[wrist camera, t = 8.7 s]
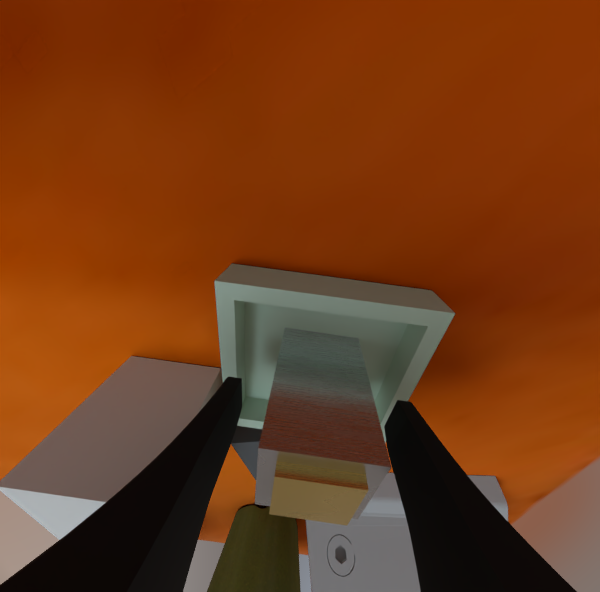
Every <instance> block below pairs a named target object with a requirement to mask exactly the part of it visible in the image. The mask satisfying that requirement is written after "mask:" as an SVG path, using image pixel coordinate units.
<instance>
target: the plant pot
mask: <svg viewBox="0 0 600 592" xmlns="http://www.w3.org/2000/svg"><path fill="white" fill-rule="evenodd" d="M269 512H270V506H269V507H267V508H263V509H261V508H258V507H257V506H256V505H248V506H246V507H243V508H241V509H240V510H238V511H237V513H236V515H235V518H234V521H233V523H232V526H231V529H230V531H229V534H228V537H227V539H226V542H225V545H224V548H223V550H222V553H221V556H220V559H219V561H218V564H217V567H216V569H215V572H214V574H213V577H212V580H211V582H210V585H209V588H208V590H207V592H300V575H299V550H298V529H297V523H296V519H295V518H292V517H285V516H278V515H271V514H269Z"/></svg>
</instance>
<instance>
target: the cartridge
mask: <svg viewBox="0 0 600 592" xmlns="http://www.w3.org/2000/svg"><path fill="white" fill-rule="evenodd" d="M390 469H391V464H390V460H389V456H388V452H387V449H386V445H385V441H384V437H383V433H382V429H381V425H380V421H379V417H378V413H377V409H376V405H375V401H374V398H373V394H372V390H371V386H370V382H369V378H368V374H367V370H366V366H365V362H364V358H363V354H362V350H361V346H360V343H359V339H358V338H354V337H347V336H340V335H333V334H326V333H319V332H312V331H305V330H298V329H291V328H285V329H284V333H283V338H282V342H281V347H280V352H279V356H278V361H277V365H276V370H275V374H274V379H273V383H272V388H271V392H270V397H269V401H268V406H267V411H266V415H265V420H264V424H263V429H262V433H261V438H260V442H259V447H258V460H257V477H256V493H255V504H258V505H264V506H270V512H269V514H271V515H278V516H285V517H292V518H298V519H305V520H312V521H319V522H325V523H332V524H339V525H346V526H347V525H348V523H349V522H350V520H351V518H353V519H358V518H359V517H360V515H361V514H362V512H363V510H364V509H365V507H366V506H367V504H368V503H369V501H370V500H371V498H372V497H373V495H374V493H375V492H376V490H377V489H378V487H379V486H380V484H381V483H382V481H383V480H384V478H385V476H386V475H387V473H388V472H389V470H390Z"/></svg>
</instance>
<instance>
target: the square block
mask: <svg viewBox="0 0 600 592" xmlns="http://www.w3.org/2000/svg"><path fill="white" fill-rule="evenodd" d="M261 433H262V429H257V428H250V427H242V426H237V428H236V431H235V434H234V436H233V439H232V442H231V444H232V446H233V447H234V449H235V450H236V452H237V453H238V455H239V456H240V458H241V459H242V461H243V462H244V463H245V465H246V466H247V468H248V469H249V471H250V472H251V474H252V475H253V477H254V478H255V480H256V477H257V460H258V447H259V442H260V438H261Z"/></svg>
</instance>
